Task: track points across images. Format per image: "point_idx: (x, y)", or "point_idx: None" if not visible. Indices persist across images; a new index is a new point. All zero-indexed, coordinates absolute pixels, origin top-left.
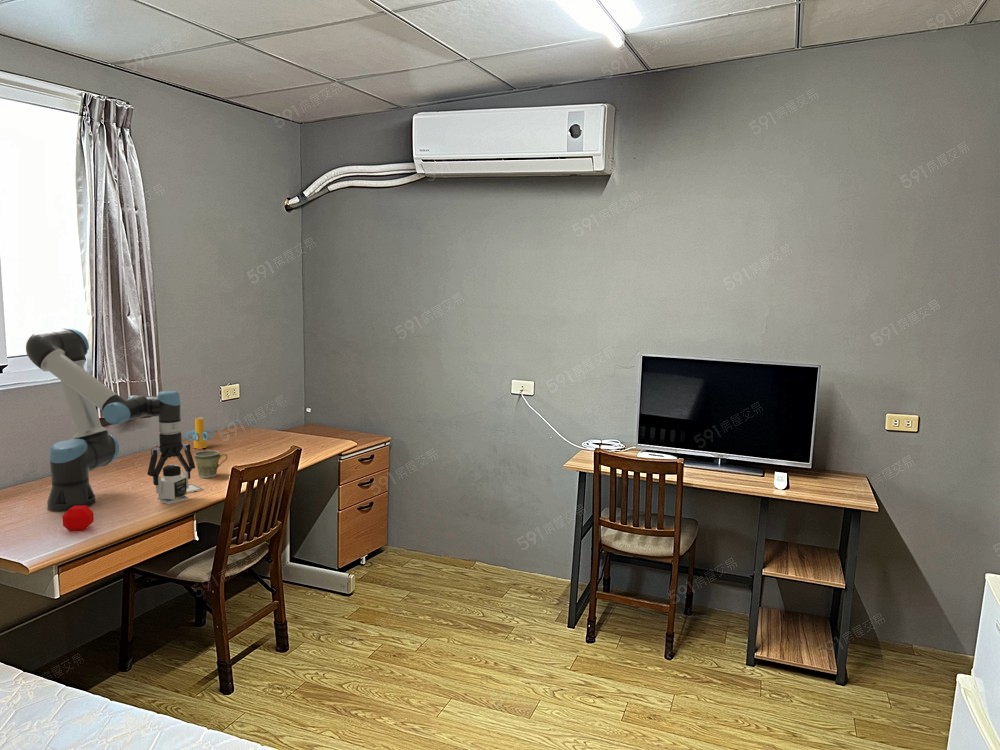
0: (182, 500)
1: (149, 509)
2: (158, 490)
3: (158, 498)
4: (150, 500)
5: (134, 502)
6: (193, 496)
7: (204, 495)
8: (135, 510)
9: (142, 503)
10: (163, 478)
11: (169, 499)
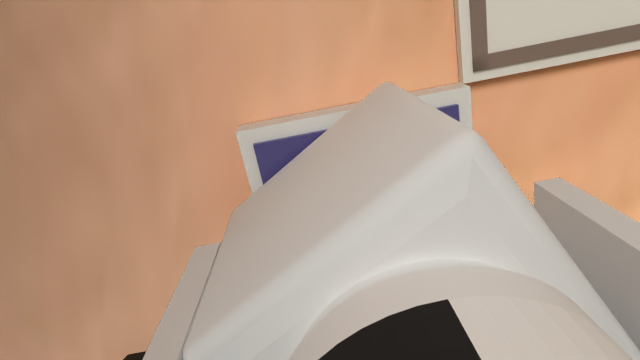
0: None
1: None
2: None
3: (241, 149)
4: (170, 106)
5: (8, 88)
6: None
7: (634, 214)
8: (33, 329)
9: (89, 167)
10: (285, 338)
11: None
